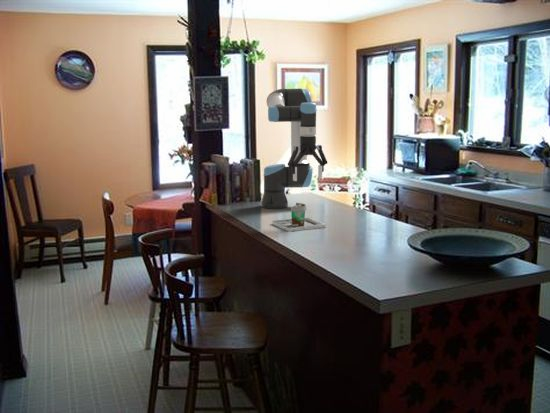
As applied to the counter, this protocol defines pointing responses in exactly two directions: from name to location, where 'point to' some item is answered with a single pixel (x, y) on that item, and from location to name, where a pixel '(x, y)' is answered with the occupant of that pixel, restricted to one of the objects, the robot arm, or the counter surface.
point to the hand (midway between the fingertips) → (307, 179)
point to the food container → (298, 214)
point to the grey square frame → (319, 225)
